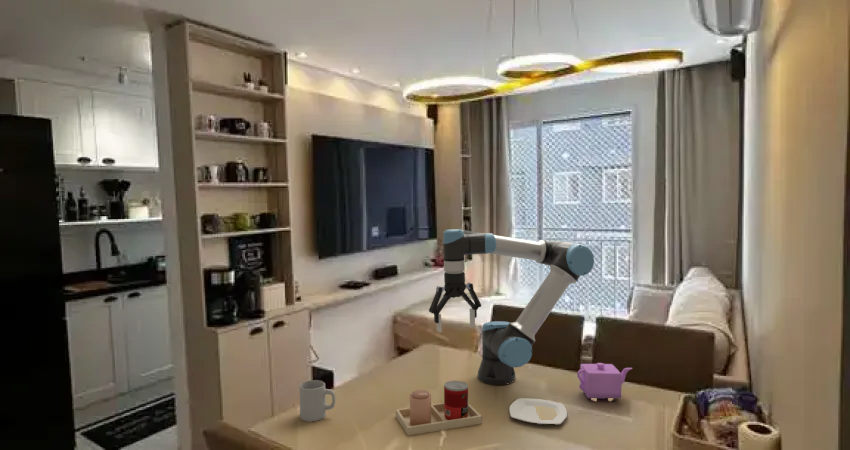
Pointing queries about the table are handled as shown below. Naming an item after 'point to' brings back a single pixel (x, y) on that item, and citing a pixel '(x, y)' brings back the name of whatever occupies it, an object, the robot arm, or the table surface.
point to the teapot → (601, 380)
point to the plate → (527, 411)
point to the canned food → (455, 400)
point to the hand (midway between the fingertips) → (456, 329)
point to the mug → (314, 400)
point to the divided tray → (437, 420)
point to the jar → (420, 407)
